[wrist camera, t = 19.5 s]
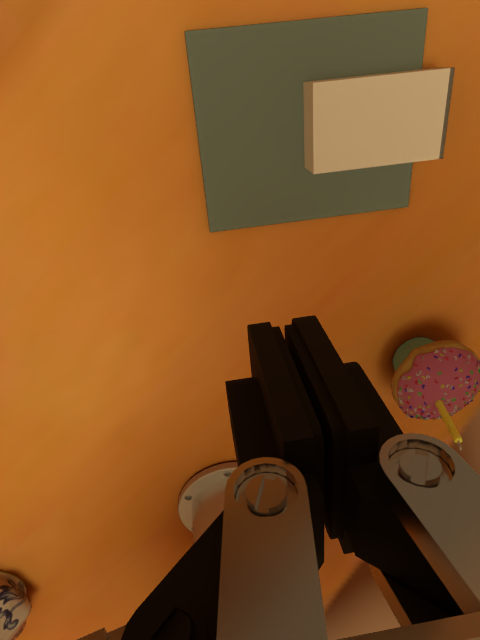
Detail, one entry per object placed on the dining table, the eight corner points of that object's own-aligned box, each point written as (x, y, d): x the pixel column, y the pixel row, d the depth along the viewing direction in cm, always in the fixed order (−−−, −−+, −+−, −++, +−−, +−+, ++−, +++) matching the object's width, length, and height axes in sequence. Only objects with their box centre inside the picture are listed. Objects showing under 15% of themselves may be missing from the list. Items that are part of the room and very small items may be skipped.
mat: (406, 205, 38) (408, 206, 38) (209, 230, 37) (210, 232, 37) (425, 8, 31) (428, 7, 31) (184, 31, 30) (184, 31, 30)
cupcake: (397, 400, 49) (457, 488, 39) (360, 353, 45) (415, 436, 35) (466, 356, 47) (548, 436, 37) (433, 303, 44) (515, 375, 33)
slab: (304, 167, 35) (425, 153, 36) (313, 174, 33) (442, 158, 34) (303, 81, 32) (435, 67, 33) (313, 82, 30) (454, 67, 31)
